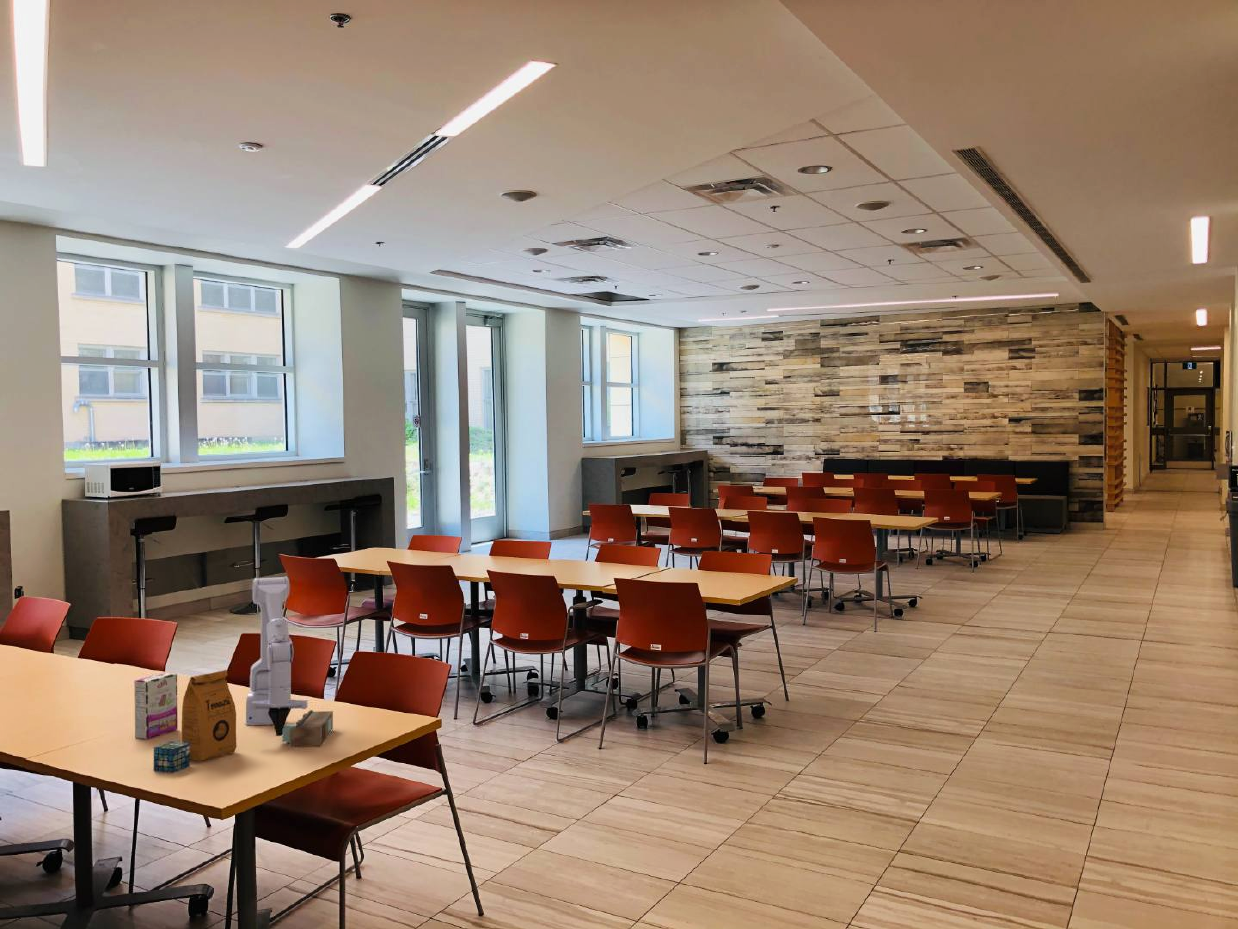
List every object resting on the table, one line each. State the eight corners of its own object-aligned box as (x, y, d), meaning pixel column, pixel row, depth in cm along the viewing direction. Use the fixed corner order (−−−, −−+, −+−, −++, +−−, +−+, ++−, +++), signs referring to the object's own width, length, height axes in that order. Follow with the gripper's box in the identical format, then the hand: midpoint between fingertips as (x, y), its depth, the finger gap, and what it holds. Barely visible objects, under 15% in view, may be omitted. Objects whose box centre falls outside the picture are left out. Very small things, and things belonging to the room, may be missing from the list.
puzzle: (170, 764, 246) (170, 741, 246) (190, 766, 244) (190, 743, 244) (153, 771, 240) (153, 747, 240) (172, 773, 239) (173, 749, 239)
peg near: (282, 741, 263) (282, 728, 263) (286, 737, 267) (286, 724, 267) (312, 741, 264) (312, 728, 264) (315, 737, 268) (315, 724, 268)
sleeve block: (289, 747, 261) (290, 726, 261) (304, 730, 278) (304, 710, 278) (320, 746, 262) (320, 725, 262) (332, 730, 279) (332, 710, 279)
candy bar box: (164, 728, 280) (165, 671, 280) (178, 730, 278) (178, 673, 278) (133, 738, 269) (133, 679, 269) (146, 740, 268) (147, 681, 268)
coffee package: (241, 753, 255) (242, 670, 255) (198, 765, 245) (199, 679, 245) (219, 747, 261) (220, 666, 261) (176, 759, 250) (177, 674, 251)
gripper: (248, 689, 261) (248, 739, 261) (303, 688, 262) (303, 738, 262) (255, 683, 268) (255, 732, 268) (309, 682, 269) (309, 731, 269)
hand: (279, 735), depth 265 cm, fingers closed
